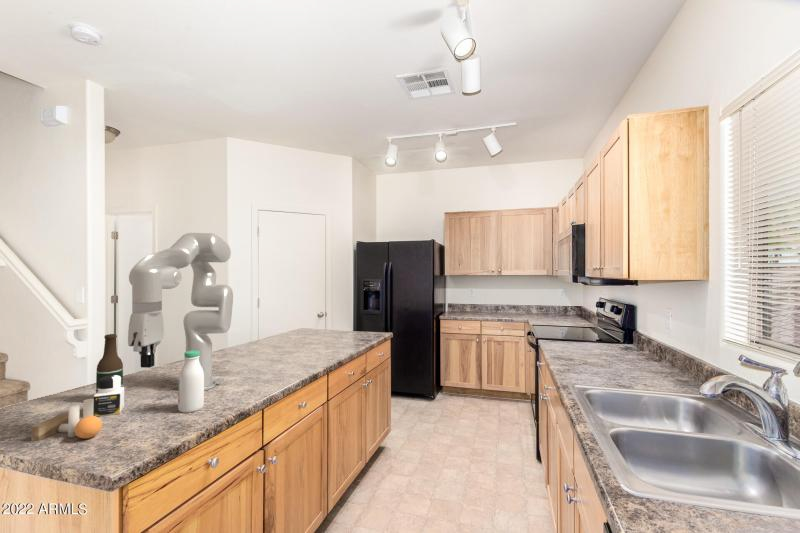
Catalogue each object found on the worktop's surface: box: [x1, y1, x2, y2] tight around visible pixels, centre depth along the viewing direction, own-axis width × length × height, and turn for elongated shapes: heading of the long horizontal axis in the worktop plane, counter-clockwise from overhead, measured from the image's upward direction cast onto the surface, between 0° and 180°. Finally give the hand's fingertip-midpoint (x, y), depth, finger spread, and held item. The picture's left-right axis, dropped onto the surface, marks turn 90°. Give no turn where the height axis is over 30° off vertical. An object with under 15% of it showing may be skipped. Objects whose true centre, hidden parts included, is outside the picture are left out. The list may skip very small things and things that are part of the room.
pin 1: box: [67, 404, 81, 438], centre depth 107 cm, size 2×2×8 cm
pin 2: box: [82, 398, 94, 419], centre depth 112 cm, size 2×2×8 cm
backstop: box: [31, 410, 69, 442], centre depth 109 cm, size 2×12×4 cm, turn 1°
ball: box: [75, 416, 103, 439], centre depth 106 cm, size 6×6×6 cm
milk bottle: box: [177, 350, 205, 413], centre depth 128 cm, size 8×8×20 cm
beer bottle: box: [95, 333, 124, 394], centre depth 137 cm, size 8×8×24 cm
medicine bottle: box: [93, 375, 125, 417], centre depth 125 cm, size 7×7×12 cm
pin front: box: [58, 424, 68, 433], centre depth 109 cm, size 2×2×8 cm
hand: (147, 366), depth 113 cm, fingers closed
